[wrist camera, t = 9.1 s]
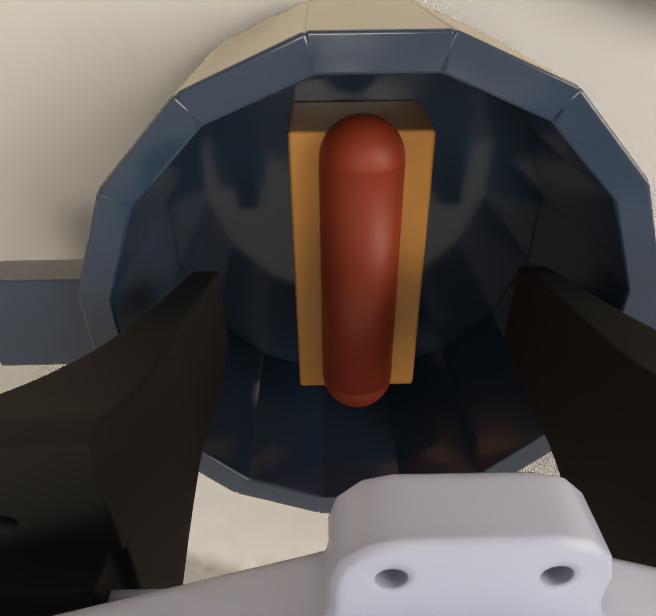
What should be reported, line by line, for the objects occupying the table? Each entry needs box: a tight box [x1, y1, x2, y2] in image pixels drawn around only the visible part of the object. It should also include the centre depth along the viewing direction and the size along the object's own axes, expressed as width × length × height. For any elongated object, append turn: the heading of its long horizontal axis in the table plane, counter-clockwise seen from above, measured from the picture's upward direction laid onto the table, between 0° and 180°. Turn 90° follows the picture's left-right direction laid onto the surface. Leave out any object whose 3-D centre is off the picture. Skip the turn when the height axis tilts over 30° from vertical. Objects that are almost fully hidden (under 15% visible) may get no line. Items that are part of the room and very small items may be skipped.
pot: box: [0, 0, 656, 513], centre depth 15 cm, size 12×18×6 cm
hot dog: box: [288, 101, 436, 407], centre depth 16 cm, size 8×3×4 cm, turn 1°
